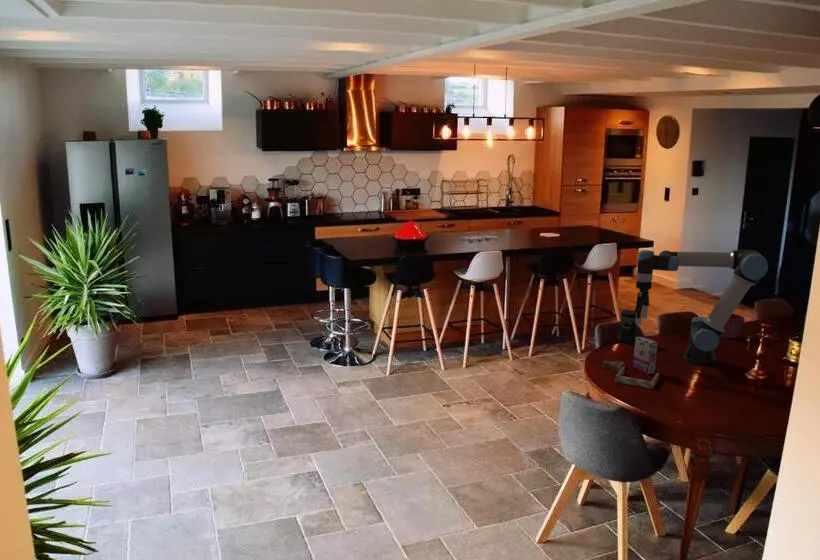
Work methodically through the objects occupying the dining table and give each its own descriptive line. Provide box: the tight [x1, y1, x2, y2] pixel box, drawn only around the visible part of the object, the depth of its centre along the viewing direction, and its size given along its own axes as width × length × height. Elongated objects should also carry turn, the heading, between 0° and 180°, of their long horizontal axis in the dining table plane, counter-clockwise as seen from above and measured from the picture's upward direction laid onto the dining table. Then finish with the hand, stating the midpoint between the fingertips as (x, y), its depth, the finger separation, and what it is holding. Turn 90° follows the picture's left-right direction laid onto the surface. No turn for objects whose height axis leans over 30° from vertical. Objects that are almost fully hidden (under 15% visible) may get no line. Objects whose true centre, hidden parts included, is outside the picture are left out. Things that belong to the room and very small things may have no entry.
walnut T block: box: [602, 360, 625, 373], centre depth 347 cm, size 9×10×2 cm
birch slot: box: [614, 366, 660, 390], centre depth 330 cm, size 17×15×3 cm
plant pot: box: [721, 313, 745, 339], centre depth 403 cm, size 14×14×13 cm
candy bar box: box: [632, 336, 659, 376], centre depth 342 cm, size 11×5×16 cm, turn 23°
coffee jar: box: [618, 308, 638, 344], centre depth 389 cm, size 10×8×19 cm
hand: (641, 321), depth 354 cm, fingers open, 13 cm apart
